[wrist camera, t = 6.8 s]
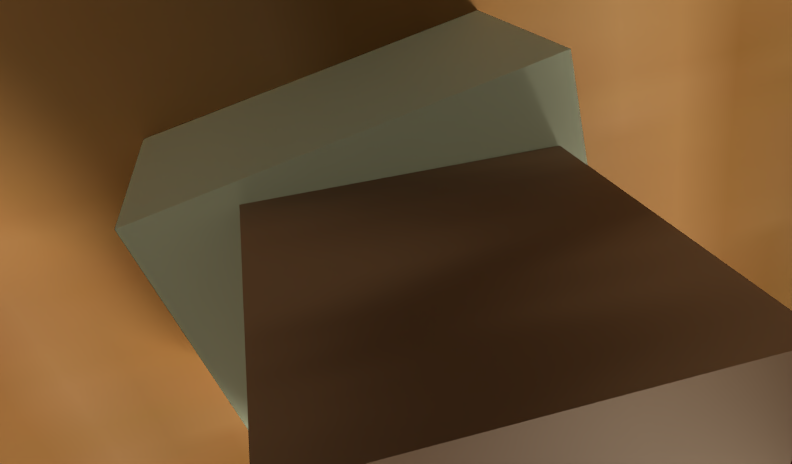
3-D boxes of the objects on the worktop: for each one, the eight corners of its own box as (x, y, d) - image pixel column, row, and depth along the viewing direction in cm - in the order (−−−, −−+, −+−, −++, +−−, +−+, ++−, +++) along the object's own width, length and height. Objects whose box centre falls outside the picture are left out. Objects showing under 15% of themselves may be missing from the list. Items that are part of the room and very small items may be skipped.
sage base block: (472, 8, 12) (570, 48, 9) (532, 272, 16) (618, 372, 12) (144, 135, 12) (114, 229, 8) (284, 376, 15) (302, 510, 12)
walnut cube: (559, 145, 9) (832, 339, 5) (548, 381, 12) (727, 645, 8) (239, 204, 9) (251, 493, 4) (297, 445, 11) (343, 781, 7)
